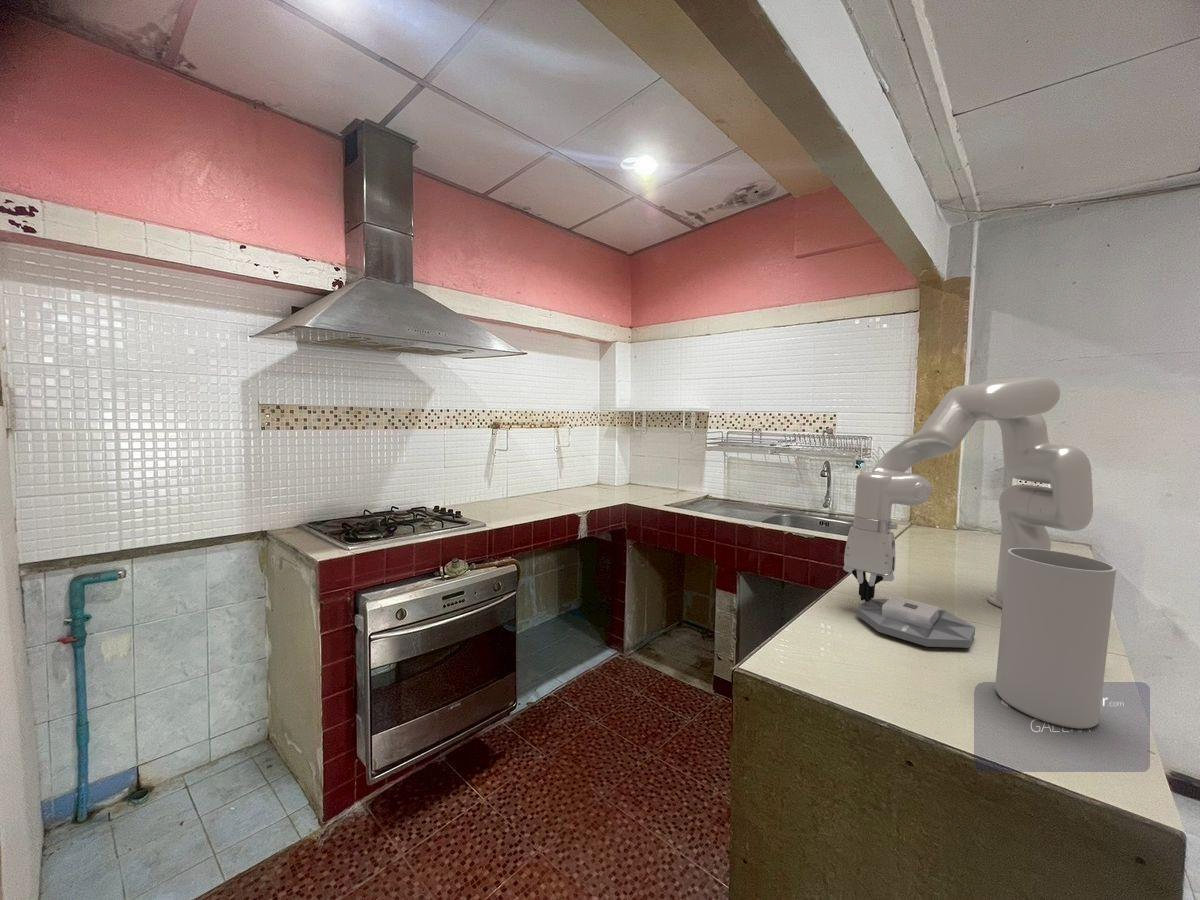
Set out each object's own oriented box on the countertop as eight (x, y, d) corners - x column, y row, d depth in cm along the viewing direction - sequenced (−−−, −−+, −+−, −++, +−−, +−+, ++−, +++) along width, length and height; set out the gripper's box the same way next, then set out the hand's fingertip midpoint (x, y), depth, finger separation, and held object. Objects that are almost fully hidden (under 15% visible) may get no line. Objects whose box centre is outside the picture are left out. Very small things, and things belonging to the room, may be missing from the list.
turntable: (978, 626, 106) (979, 619, 106) (964, 658, 91) (965, 650, 91) (874, 598, 121) (875, 592, 120) (847, 622, 106) (848, 615, 106)
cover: (938, 617, 106) (939, 606, 106) (929, 629, 100) (930, 617, 99) (892, 605, 112) (893, 594, 112) (881, 615, 106) (882, 604, 106)
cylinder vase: (977, 681, 84) (989, 546, 83) (1052, 687, 83) (1066, 550, 81) (1033, 727, 72) (1049, 568, 70) (1123, 735, 71) (1142, 573, 69)
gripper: (912, 528, 109) (906, 605, 110) (843, 517, 119) (838, 587, 120) (904, 533, 103) (898, 613, 105) (832, 521, 114) (827, 594, 115)
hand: (866, 599), depth 112 cm, fingers closed
